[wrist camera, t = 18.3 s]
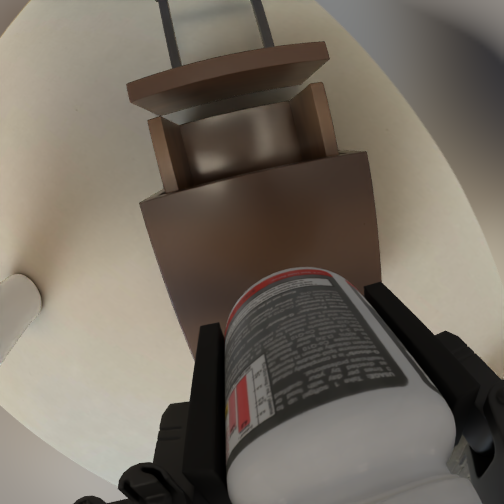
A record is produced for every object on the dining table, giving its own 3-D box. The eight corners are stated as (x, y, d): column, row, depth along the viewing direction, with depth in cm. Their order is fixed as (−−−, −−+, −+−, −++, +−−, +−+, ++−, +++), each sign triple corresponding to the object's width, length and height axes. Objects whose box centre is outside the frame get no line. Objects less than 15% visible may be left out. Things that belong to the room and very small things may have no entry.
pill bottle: (208, 365, 13) (197, 603, 3) (253, 241, 11) (327, 564, 2) (327, 389, 13) (394, 579, 4) (385, 285, 12) (549, 471, 2)
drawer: (140, 19, 19) (110, -22, 12) (273, -11, 19) (288, -59, 12) (198, 260, 26) (186, 303, 19) (330, 229, 26) (366, 260, 19)
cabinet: (171, 183, 25) (138, 202, 16) (320, 149, 25) (367, 151, 16) (216, 333, 30) (213, 404, 20) (343, 303, 29) (383, 362, 20)
